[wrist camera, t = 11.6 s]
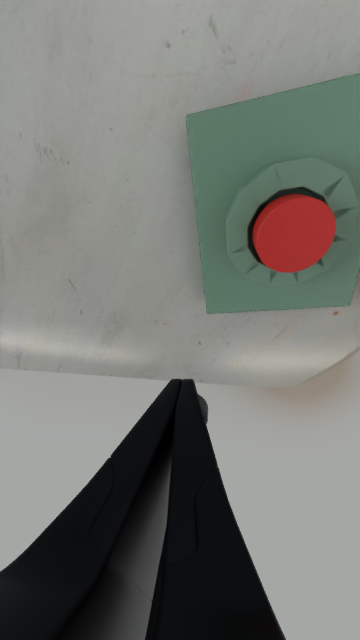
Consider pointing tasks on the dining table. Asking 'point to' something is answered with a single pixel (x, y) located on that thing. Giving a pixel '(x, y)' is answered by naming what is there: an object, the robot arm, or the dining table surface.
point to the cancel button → (293, 232)
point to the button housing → (277, 192)
